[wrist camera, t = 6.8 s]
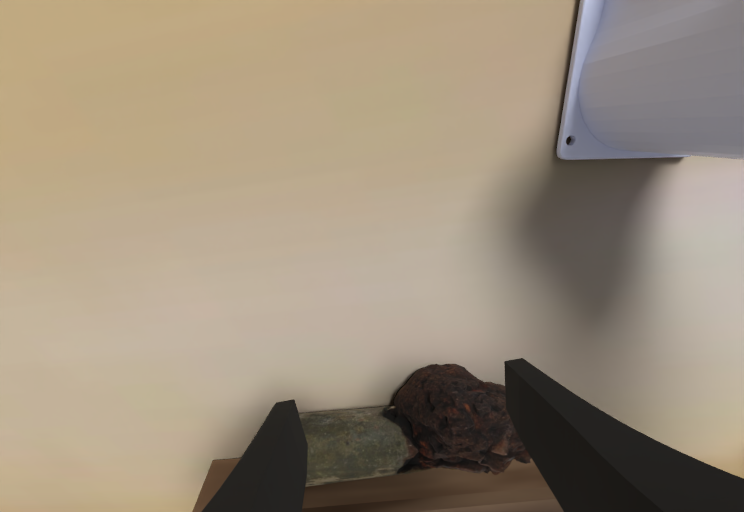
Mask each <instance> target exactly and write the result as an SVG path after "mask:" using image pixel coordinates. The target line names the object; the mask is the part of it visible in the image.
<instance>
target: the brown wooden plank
mask: <svg viewBox="0 0 744 512" xmlns="http://www.w3.org/2000/svg"><path fill="white" fill-rule="evenodd" d="M240 459H241V458H236V459H223V460H213V461H212V464H211V466H210V469H209V471H208V474H207V477H206V479H205V482H204V484H203V487H202V489H201V492H200V494H199V497H198V499H197V502H196V504H195V507H194V509H193V512H201V511H202V510H203V509H204V508H205V506H206V505H207V504H208V503H209V501H210V500H211V499H212V497H213V496H214V495H215V494H216V492H217V491H218V490H219V488H220V487H221V485H222V484H223V483H224V481H225V480H226V479H227V477H228V476H229V474H230V473H231V472H232V470H233V469H234V467H235V466H236V465H237V463H238V462H239V460H240ZM530 462H531V463H527V464H525V463H521V462H519V461H516V459H513V460H512V462H511V464H510V465H509V466H508V467H507V469H505V470H504V473H502V472H501V473H499V474H498V475H494V474H493V473H492V472H491V471H490V472H489V473H488V474H487V473H484V472H482V473H480V474H479V473H473V472H467V471H462V470H458V469H455V470H452V469H445V468H432V469H428V470H424V471H421V472H414V473H409V474H400V475H392V476H385V477H375V478H370V479H362V480H352V481H343V482H337V483H330V484H324V485H316V486H308V487H305V492H304V499H303V506H302V512H564V511H563V510H562V508H561V506H560V504H559V503H558V501H557V499H556V498H555V496H554V494H553V493H552V491H551V489H550V488H549V486H548V485H547V483H546V481H545V480H544V478H543V476H542V475H541V473H540V471H539V470H538V468H537V466H536V465H535V463H534V461H533V460H532V458H531V459H530Z"/></svg>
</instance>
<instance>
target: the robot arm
mask: <svg viewBox="0 0 744 512" xmlns="http://www.w3.org/2000/svg"><path fill="white" fill-rule="evenodd" d="M569 136H570V137H571V142H570V143H569V144H568V145H567V144H566V139H567V138H568V137H569ZM691 155H692V156H705V157H718V158H731V159H744V0H580V5H579V12H578V18H577V24H576V31H575V37H574V43H573V50H572V56H571V62H570V69H569V75H568V81H567V87H566V94H565V100H564V106H563V113H562V119H561V125H560V132H559V138H558V144H557V156H558V157H559V158H560V159H565V160H580V159H622V158H663V157H689V156H691ZM505 392H506V409H507V412H508V414H509V416H510V418H511V421H512V423H513V425H514V427H515V429H516V431H517V434H518V436H519V438H520V440H521V441H522V443H523V445H524V446H525V448H526V450H527V451H528V453H529V455H530V456H531V458H532V460H533V461H534V463H535V465H536V466H537V468H538V470H539V471H540V473H541V475H542V476H543V478H544V480H545V481H546V483H547V485H548V486H549V488H550V489H551V491H552V493H553V494H554V496H555V498H556V499H557V501H558V503H559V504H560V506H561V508H562V510H563V511H564V512H744V479H743V478H740V477H738V476H735V475H733V474H730V473H728V472H725V471H723V470H720V469H718V468H715V467H713V466H711V465H708V464H706V463H704V462H701V461H699V460H697V459H695V458H692V457H690V456H688V455H686V454H683V453H681V452H679V451H677V450H675V449H672V448H670V447H668V446H666V445H664V444H662V443H660V442H658V441H656V440H654V439H652V438H650V437H648V436H646V435H644V434H642V433H640V432H638V431H636V430H635V429H633V428H631V427H629V426H627V425H625V424H623V423H622V422H620V421H618V420H616V419H614V418H613V417H611V416H609V415H608V414H606V413H604V412H603V411H601V410H599V409H598V408H596V407H594V406H593V405H591V404H589V403H588V402H586V401H585V400H583V399H581V398H580V397H578V396H577V395H575V394H574V393H572V392H571V391H569V390H568V389H566V388H565V387H563V386H562V385H560V384H559V383H557V382H556V381H554V380H553V379H552V378H550V377H549V376H547V375H546V374H544V373H543V372H541V371H540V370H539V369H537V368H536V367H534V366H533V365H532V364H530V363H529V362H527V361H526V360H524V359H523V358H521V359H515V360H509V361H505ZM307 457H308V443H307V440H306V437H305V433H304V430H303V427H302V423H301V420H300V417H299V414H298V410H297V407H296V404H295V400H289V401H283V402H278V403H276V404H275V405H274V407H273V408H272V410H271V411H270V413H269V415H268V416H267V418H266V420H265V421H264V423H263V425H262V426H261V428H260V429H259V431H258V433H257V434H256V436H255V437H254V439H253V440H252V442H251V443H250V445H249V447H248V448H247V450H246V451H245V453H244V454H243V456H242V457H241V459H240V460H239V462H238V463H237V465H236V466H235V467H234V469H233V470H232V472H231V473H230V474H229V476H228V477H227V479H226V480H225V481H224V483H223V484H222V485H221V487H220V488H219V490H218V491H217V492H216V494H215V495H214V496H213V497H212V499H211V500H210V501H209V503H208V504H207V505H206V506H205V508H204V509H203V510H202V511H201V512H302V506H303V499H304V492H305V486H306V478H307Z"/></svg>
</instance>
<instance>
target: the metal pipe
mask: <svg viewBox="0 0 744 512" xmlns="http://www.w3.org/2000/svg"><path fill="white" fill-rule="evenodd" d="M299 417H300V420H301V423H302V427H303V430H304V433H305V437H306V440H307V443H308V457H307V478H306V486H305V487H308V486H316V485H324V484H330V483H337V482H343V481H352V480H362V479H370V478H375V477H385V476H392V475H400V474H409V473H414V472H421V471H424V470H428V469H432V468H445V469H452V470H455V469H458V470H462V471H467V472H473V473H479V474H480V473H482V472H484V473H487V474H488V473H489V472H490V471H491V472H492V473H493V474H494V475H498V474H499V473H501V472H502V473H504V470H505V469H507V467H508V466H509V465H510V464H511V462H512V460H513V459H516V461H519V462H521V463H525V464H527V463H531V462H530V459H531V456H530V455H529V453H528V451H527V450H526V448H525V446H524V445H523V443H522V441H521V440H520V438H519V436H518V434H517V431H516V429H515V427H514V425H513V423H512V421H511V418H510V416H509V414H508V412H507V409H506V392H505V386H503V385H500V384H494V383H492V382H485V383H484V382H483V381H481V380H479V379H477V378H476V377H475V376H473V375H472V374H470V373H469V372H468V371H467V370H466V369H465V368H464V367H462V366H459V365H456V364H446V365H438V364H435V365H429V366H428V367H425V368H421V369H419V370H418V371H416V372H415V373H414V374H413V376H412V377H411V378H410V379H409V380H408V382H407V383H406V384H405V385H404V386H403V387H402V388H401V389H400V390H399V392H398V393H397V395H396V397H395V399H394V405H393V406H385V407H374V408H363V409H347V410H333V411H322V412H311V413H299Z"/></svg>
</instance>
